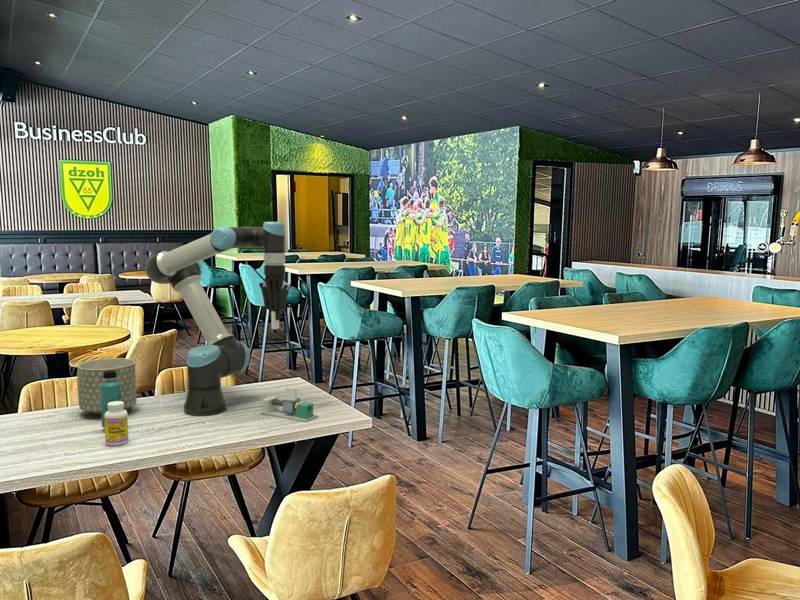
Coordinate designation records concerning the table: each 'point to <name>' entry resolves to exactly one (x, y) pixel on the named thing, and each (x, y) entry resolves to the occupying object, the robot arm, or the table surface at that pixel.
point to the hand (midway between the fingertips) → (275, 328)
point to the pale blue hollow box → (290, 400)
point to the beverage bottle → (109, 392)
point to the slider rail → (302, 413)
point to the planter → (93, 378)
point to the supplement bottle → (116, 424)
